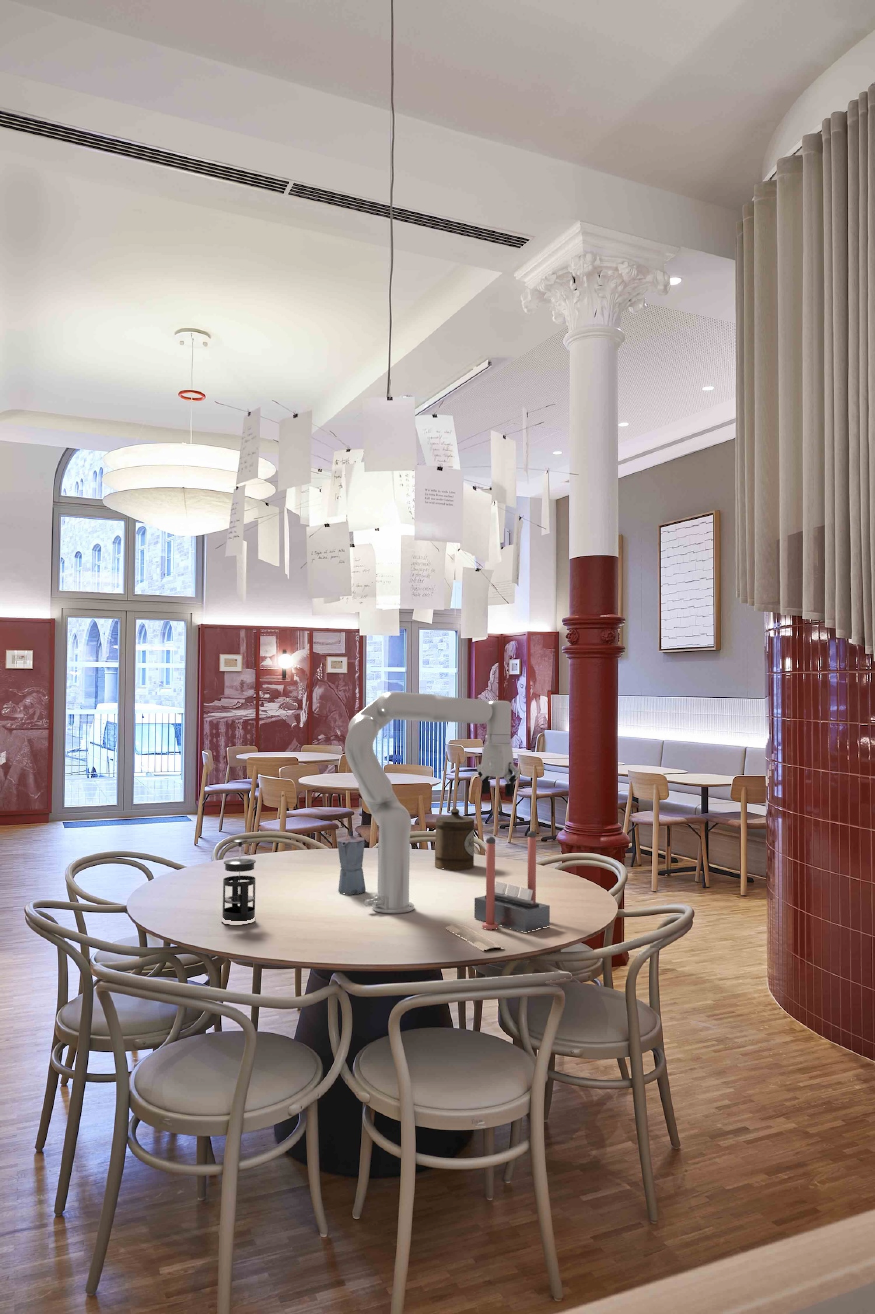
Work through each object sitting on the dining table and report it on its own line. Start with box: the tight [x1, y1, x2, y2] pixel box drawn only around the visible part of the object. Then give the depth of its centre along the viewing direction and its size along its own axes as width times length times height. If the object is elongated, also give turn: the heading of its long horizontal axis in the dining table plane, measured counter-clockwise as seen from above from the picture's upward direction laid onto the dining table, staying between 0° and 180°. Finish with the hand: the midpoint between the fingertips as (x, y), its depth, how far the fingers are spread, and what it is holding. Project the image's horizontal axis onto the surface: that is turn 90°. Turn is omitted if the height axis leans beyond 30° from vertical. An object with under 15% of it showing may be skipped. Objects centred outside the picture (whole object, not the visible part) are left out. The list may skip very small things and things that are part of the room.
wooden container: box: [434, 807, 475, 871], centre depth 326 cm, size 15×15×22 cm
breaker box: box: [473, 894, 551, 932], centre depth 244 cm, size 10×20×7 cm, turn 41°
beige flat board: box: [445, 923, 504, 951], centre depth 227 cm, size 24×7×2 cm, turn 24°
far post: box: [527, 830, 537, 902], centre depth 250 cm, size 4×4×25 cm
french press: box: [221, 838, 256, 921], centre depth 243 cm, size 12×9×23 cm
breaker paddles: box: [495, 881, 534, 904], centre depth 244 cm, size 1×16×4 cm, turn 41°
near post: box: [481, 835, 499, 931], centre depth 239 cm, size 4×4×25 cm
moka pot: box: [336, 830, 367, 895], centre depth 282 cm, size 10×15×20 cm, turn 166°
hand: (497, 794), depth 267 cm, fingers open, 9 cm apart
